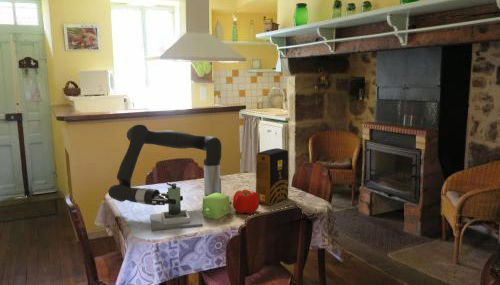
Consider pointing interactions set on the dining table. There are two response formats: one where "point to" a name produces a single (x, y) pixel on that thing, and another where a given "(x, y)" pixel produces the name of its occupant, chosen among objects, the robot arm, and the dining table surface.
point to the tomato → (245, 201)
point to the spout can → (175, 194)
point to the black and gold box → (272, 176)
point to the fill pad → (175, 220)
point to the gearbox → (216, 205)
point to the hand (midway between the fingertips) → (179, 200)
